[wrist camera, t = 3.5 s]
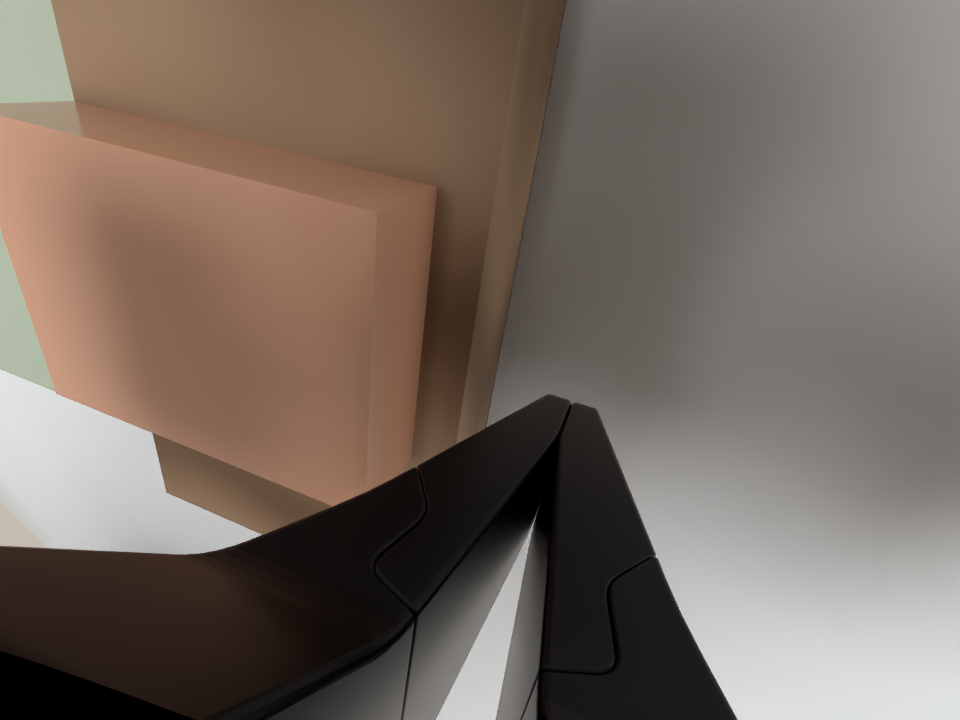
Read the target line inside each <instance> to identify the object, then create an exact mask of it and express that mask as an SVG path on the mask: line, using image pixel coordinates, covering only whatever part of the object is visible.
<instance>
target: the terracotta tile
mask: <svg viewBox="0 0 960 720" xmlns="http://www.w3.org/2000/svg"><path fill="white" fill-rule="evenodd" d="M436 197H437V187H435V186H431V185H427V184H422V183H418V182H414V181H410V180H405V179H401V178H397V177H393V176H389V175H384V174H380V173H376V172H372V171H368V170H363V169H359V168H355V167H351V166H346V165H342V164H338V163H334V162H330V161H325V160H321V159H317V158H313V157H308V156H304V155H300V154H296V153H292V152H287V151H283V150H279V149H275V148H271V147H266V146H262V145H258V144H254V143H249V142H245V141H241V140H237V139H233V138H228V137H224V136H220V135H216V134H211V133H207V132H203V131H199V130H195V129H190V128H186V127H182V126H178V125H174V124H169V123H165V122H161V121H157V120H152V119H148V118H144V117H140V116H136V115H131V114H127V113H123V112H119V111H114V110H110V109H106V108H102V107H98V106H93V105H89V104H85V103H81V102H77V101H60V102H29V103H0V230H1V233H2V236H3V238H4V241H5V244H6V247H7V250H8V253H9V256H10V259H11V262H12V265H13V268H14V271H15V274H16V277H17V280H18V282H19V285H20V288H21V291H22V294H23V297H24V300H25V303H26V306H27V309H28V312H29V315H30V318H31V321H32V323H33V326H34V329H35V332H36V335H37V338H38V341H39V344H40V347H41V350H42V353H43V356H44V359H45V362H46V365H47V367H48V370H49V373H50V376H51V379H52V382H53V385H54V388H55V391H56V394H59V395H61V396H64V397H66V398H69V399H71V400H74V401H76V402H78V403H81V404H83V405H86V406H88V407H91V408H93V409H96V410H98V411H100V412H103V413H105V414H108V415H110V416H113V417H115V418H118V419H120V420H123V421H125V422H127V423H130V424H132V425H135V426H137V427H140V428H142V429H145V430H147V431H150V432H152V433H154V434H157V435H159V436H162V437H164V438H167V439H169V440H172V441H174V442H176V443H179V444H181V445H184V446H186V447H189V448H191V449H194V450H196V451H199V452H201V453H203V454H206V455H208V456H211V457H213V458H216V459H218V460H221V461H223V462H226V463H228V464H230V465H233V466H235V467H238V468H240V469H243V470H245V471H248V472H250V473H252V474H255V475H257V476H260V477H262V478H265V479H267V480H270V481H272V482H275V483H277V484H279V485H282V486H284V487H287V488H289V489H292V490H294V491H297V492H299V493H302V494H304V495H306V496H309V497H311V498H314V499H316V500H319V501H321V502H324V503H326V504H328V505H331V506H335V505H337V504H339V503H342V502H344V501H346V500H348V499H351V498H353V497H355V496H358V495H360V494H362V493H364V492H367V491H369V490H371V489H373V488H375V487H377V486H379V485H381V484H383V483H385V482H387V481H389V480H391V479H393V478H395V477H397V476H398V474H399V473H400V472H401V470H402V469H403V468H404V466H405V465H406V464H407V462H408V461H409V460H410V458H411V453H412V443H413V433H414V423H415V412H416V402H417V392H418V382H419V371H420V361H421V351H422V341H423V331H424V320H425V310H426V300H427V290H428V279H429V269H430V259H431V249H432V238H433V228H434V218H435V208H436Z"/></svg>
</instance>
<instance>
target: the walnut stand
mask: <svg viewBox="0 0 960 720" xmlns="http://www.w3.org/2000/svg"><path fill="white" fill-rule="evenodd" d="M51 3H52V7H53V12H54V16H55V20H56V24H57V29H58V33H59V37H60V41H61V46H62V50H63V54H64V58H65V63H66V67H67V71H68V75H69V80H70V84H71V88H72V92H73V97H74V101H77V102H81V103H85V104H89V105H93V106H98V107H102V108H106V109H110V110H114V111H119V112H123V113H127V114H131V115H136V116H140V117H144V118H148V119H152V120H157V121H161V122H165V123H169V124H174V125H178V126H182V127H186V128H190V129H195V130H199V131H203V132H207V133H211V134H216V135H220V136H224V137H228V138H233V139H237V140H241V141H245V142H249V143H254V144H258V145H262V146H266V147H271V148H275V149H279V150H283V151H287V152H292V153H296V154H300V155H304V156H308V157H313V158H317V159H321V160H325V161H330V162H334V163H338V164H342V165H346V166H351V167H355V168H359V169H363V170H368V171H372V172H376V173H380V174H384V175H389V176H393V177H397V178H401V179H405V180H410V181H414V182H418V183H422V184H427V185H431V186H435V187H437V197H436V208H435V218H434V228H433V238H432V249H431V259H430V269H429V279H428V290H427V300H426V310H425V320H424V331H423V341H422V351H421V361H420V371H419V382H418V392H417V402H416V412H415V423H414V433H413V443H412V453H411V458H410V460H409V461H408V462H407V464H406V465H405V466H404V468H403V469H402V470H401V472H400V473H399V474H398V475H400V474H402V473H404V472H406V471H408V470H409V469H411V468H413V467H415V468H417V466H418V465H419V464H421V463H423V462H424V461H426V460H428V459H430V458H432V457H434V456H435V455H437V454H439V453H441V452H443V451H445V450H447V449H448V448H450V447H452V446H454V445H456V444H458V443H459V442H461V441H463V440H465V439H467V438H469V437H470V436H472V435H474V434H476V433H478V432H480V431H481V430H483V429H485V428H486V423H487V417H488V412H489V407H490V401H491V396H492V391H493V385H494V380H495V375H496V370H497V364H498V359H499V354H500V348H501V343H502V338H503V332H504V327H505V322H506V316H507V311H508V306H509V301H510V295H511V290H512V285H513V279H514V274H515V269H516V263H517V258H518V253H519V247H520V242H521V237H522V232H523V226H524V221H525V216H526V210H527V205H528V200H529V194H530V189H531V184H532V179H533V173H534V168H535V163H536V157H537V152H538V147H539V141H540V136H541V131H542V125H543V120H544V115H545V110H546V104H547V99H548V94H549V88H550V83H551V78H552V72H553V67H554V62H555V56H556V51H557V46H558V41H559V35H560V30H561V25H562V19H563V14H564V9H565V3H566V0H51ZM153 437H154V441H155V445H156V449H157V454H158V458H159V462H160V466H161V471H162V475H163V479H164V483H165V488H166V492H167V493H169V494H171V495H173V496H176V497H178V498H180V499H183V500H185V501H187V502H189V503H192V504H194V505H196V506H199V507H201V508H203V509H205V510H208V511H210V512H212V513H215V514H217V515H219V516H221V517H224V518H226V519H228V520H231V521H233V522H235V523H237V524H240V525H242V526H244V527H247V528H249V529H251V530H253V531H256V532H258V533H260V534H266V533H268V532H271V531H273V530H276V529H278V528H281V527H283V526H286V525H288V524H290V523H293V522H295V521H298V520H300V519H303V518H305V517H308V516H310V515H313V514H315V513H317V512H320V511H322V510H325V509H327V508H330V507H332V506H331V505H328V504H326V503H324V502H321V501H319V500H316V499H314V498H311V497H309V496H306V495H304V494H302V493H299V492H297V491H294V490H292V489H289V488H287V487H284V486H282V485H279V484H277V483H275V482H272V481H270V480H267V479H265V478H262V477H260V476H257V475H255V474H252V473H250V472H248V471H245V470H243V469H240V468H238V467H235V466H233V465H230V464H228V463H226V462H223V461H221V460H218V459H216V458H213V457H211V456H208V455H206V454H203V453H201V452H199V451H196V450H194V449H191V448H189V447H186V446H184V445H181V444H179V443H176V442H174V441H172V440H169V439H167V438H164V437H162V436H159V435H157V434H154V433H153Z"/></svg>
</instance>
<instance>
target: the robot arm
mask: <svg viewBox="0 0 960 720" xmlns="http://www.w3.org/2000/svg"><path fill="white" fill-rule="evenodd" d="M537 511H538V512H537ZM536 514H537V515H536ZM535 517H536V519H535ZM534 519H535V522H534ZM533 522H534V525H533ZM532 525H533V530H532V534H531V539H530V544H529V549H528V554H527V559H526V565H525V570H524V575H523V580H522V586H521V591H520V596H519V601H518V607H517V612H516V617H515V622H514V628H513V633H512V638H511V643H510V649H509V654H508V659H507V664H506V669H505V675H504V680H503V685H502V690H501V696H500V701H499V706H498V711H497V717H496V720H737V718H736V716H735V714H734V712H733V710H732V709H731V707H730V705H729V703H728V701H727V699H726V697H725V696H724V694H723V692H722V690H721V688H720V686H719V685H718V683H717V681H716V679H715V677H714V675H713V674H712V672H711V670H710V668H709V666H708V664H707V663H706V661H705V659H704V657H703V655H702V653H701V651H700V649H699V647H698V645H697V643H696V642H695V640H694V638H693V636H692V634H691V632H690V630H689V628H688V626H687V624H686V622H685V620H684V618H683V616H682V614H681V612H680V610H679V607H678V605H677V603H676V601H675V598H674V596H673V594H672V592H671V589H670V587H669V585H668V583H667V580H666V578H665V575H664V573H663V570H662V568H661V565H660V563H659V560H658V559H657V558H656V557H655V556H656V554H655V551H654V549H653V546H652V544H651V541H650V539H649V536H648V534H647V531H646V529H645V526H644V524H643V522H642V519H641V517H640V514H639V512H638V509H637V507H636V504H635V502H634V499H633V497H632V494H631V492H630V490H629V487H628V485H627V482H626V480H625V477H624V475H623V472H622V470H621V467H620V465H619V462H618V460H617V458H616V455H615V453H614V450H613V448H612V445H611V443H610V440H609V438H608V435H607V433H606V430H605V428H604V425H603V423H602V421H601V418H600V416H599V413H598V411H597V410H596V409H595V408H592V407H589V406H586V405H582V404H579V403H573V404H572V405H571V402H570V401H569V400H567V399H564V398H560V397H557V396H554V395H551V394H548V395H546V396H544V397H542V398H540V399H538V400H536V401H535V402H533V403H531V404H529V405H527V406H525V407H524V408H522V409H520V410H518V411H516V412H514V413H513V414H511V415H509V416H507V417H505V418H503V419H502V420H500V421H498V422H496V423H494V424H492V425H491V426H489V427H487V428H485V429H483V430H481V431H480V432H478V433H476V434H474V435H472V436H470V437H469V438H467V439H465V440H463V441H461V442H459V443H458V444H456V445H454V446H452V447H450V448H448V449H447V450H445V451H443V452H441V453H439V454H437V455H435V456H434V457H432V458H430V459H428V460H426V461H424V462H423V463H421V464H419V465H418V466H417V468H415V467H413V468H411V469H409V470H408V471H406V472H404V473H402V474H400V475H398V476H397V477H395V478H393V479H391V480H389V481H387V482H385V483H383V484H381V485H379V486H377V487H375V488H373V489H371V490H369V491H367V492H364V493H362V494H360V495H358V496H355V497H353V498H351V499H348V500H346V501H344V502H342V503H339V504H337V505H335V506H332V507H330V508H327V509H325V510H322V511H320V512H317V513H315V514H313V515H310V516H308V517H305V518H303V519H300V520H298V521H295V522H293V523H290V524H288V525H286V526H283V527H281V528H278V529H276V530H273V531H271V532H268V533H266V534H263V535H261V536H259V537H256V538H254V539H251V540H249V541H246V542H243V543H240V544H238V545H235V546H232V547H228V548H224V549H221V550H217V551H212V552H207V553H201V554H188V555H175V554H154V553H134V552H114V551H94V550H74V549H54V548H33V547H12V546H0V720H436V718H437V716H438V714H439V712H440V710H441V708H442V706H443V704H444V702H445V700H446V698H447V696H448V694H449V692H450V690H451V688H452V686H453V684H454V682H455V680H456V678H457V676H458V674H459V672H460V670H461V668H462V666H463V664H464V662H465V660H466V658H467V656H468V654H469V652H470V650H471V648H472V646H473V644H474V642H475V640H476V638H477V636H478V634H479V632H480V630H481V628H482V626H483V624H484V622H485V620H486V618H487V616H488V614H489V612H490V610H491V608H492V606H493V604H494V602H495V600H496V598H497V596H498V594H499V592H500V590H501V588H502V586H503V584H504V582H505V580H506V578H507V576H508V574H509V572H510V570H511V568H512V566H513V564H514V562H515V560H516V558H517V556H518V554H519V552H520V550H521V548H522V546H523V544H524V542H525V540H526V538H527V536H528V534H529V531H530V529H531V527H532Z"/></svg>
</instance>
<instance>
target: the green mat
mask: <svg viewBox="0 0 960 720" xmlns="http://www.w3.org/2000/svg"><path fill="white" fill-rule="evenodd" d="M60 101H74V97H73V92H72V88H71V84H70V80H69V75H68V71H67V67H66V63H65V58H64V54H63V50H62V46H61V41H60V37H59V33H58V29H57V24H56V20H55V16H54V12H53V7H52V3H51V0H0V103H29V102H60ZM0 369H1V370H4V371H6V372H9V373H11V374H14V375H16V376H19V377H21V378H23V379H26V380H28V381H31V382H33V383H36V384H38V385H41V386H43V387H46V388H48V389H51V390H53V391H55V388H54V385H53V382H52V379H51V376H50V373H49V370H48V367H47V365H46V362H45V359H44V356H43V353H42V350H41V347H40V344H39V341H38V338H37V335H36V332H35V329H34V326H33V323H32V321H31V318H30V315H29V312H28V309H27V306H26V303H25V300H24V297H23V294H22V291H21V288H20V285H19V282H18V280H17V277H16V274H15V271H14V268H13V265H12V262H11V259H10V256H9V253H8V250H7V247H6V244H5V241H4V238H3V236H2V233H1V230H0ZM55 392H56V391H55Z"/></svg>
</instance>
